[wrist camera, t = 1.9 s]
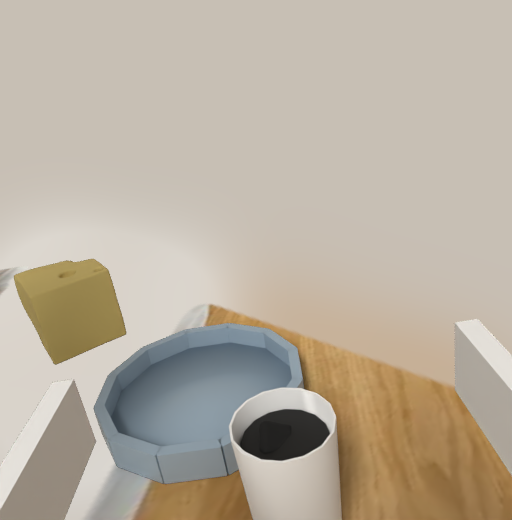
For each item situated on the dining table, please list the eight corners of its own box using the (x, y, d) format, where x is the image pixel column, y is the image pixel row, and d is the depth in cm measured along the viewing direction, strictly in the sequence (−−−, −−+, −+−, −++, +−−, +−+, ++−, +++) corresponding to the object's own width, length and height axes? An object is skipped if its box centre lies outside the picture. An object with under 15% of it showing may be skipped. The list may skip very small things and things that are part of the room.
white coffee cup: (250, 586, 30) (222, 467, 27) (255, 498, 37) (233, 392, 33) (356, 580, 30) (342, 458, 26) (343, 492, 36) (330, 382, 32)
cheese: (106, 311, 72) (87, 249, 69) (131, 336, 64) (111, 267, 60) (35, 338, 67) (10, 274, 64) (52, 370, 59) (25, 298, 55)
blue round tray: (61, 445, 46) (51, 420, 44) (185, 336, 61) (180, 316, 60) (239, 512, 36) (232, 482, 34) (333, 361, 51) (330, 337, 50)
